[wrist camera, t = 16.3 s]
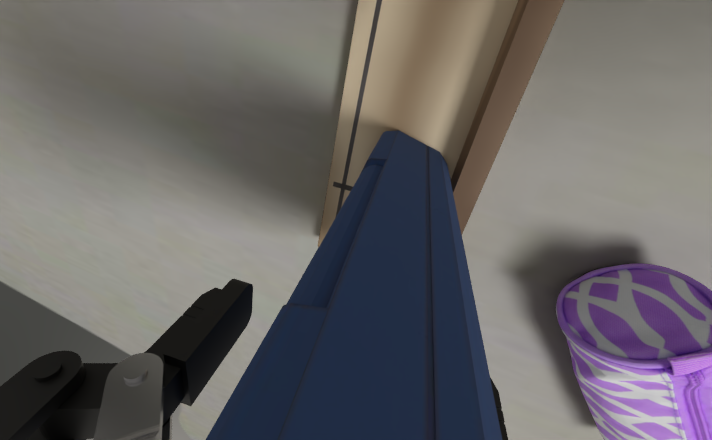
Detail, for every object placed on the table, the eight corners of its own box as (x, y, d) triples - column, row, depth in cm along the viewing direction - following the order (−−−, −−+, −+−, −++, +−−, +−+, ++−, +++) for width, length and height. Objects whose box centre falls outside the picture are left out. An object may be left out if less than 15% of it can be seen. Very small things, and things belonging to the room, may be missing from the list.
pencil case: (720, 424, 28) (840, 574, 20) (604, 436, 32) (664, 567, 24) (660, 234, 22) (800, 340, 14) (523, 277, 26) (567, 381, 17)
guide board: (712, -416, 11) (839, -630, 8) (432, 269, 27) (432, 300, 23) (440, -440, 12) (444, -642, 9) (322, 237, 28) (307, 263, 24)
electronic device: (388, 258, 25) (306, 691, 8) (332, 229, 25) (125, 610, 8) (454, 158, 21) (600, 684, 3) (386, 122, 21) (167, 480, 3)
